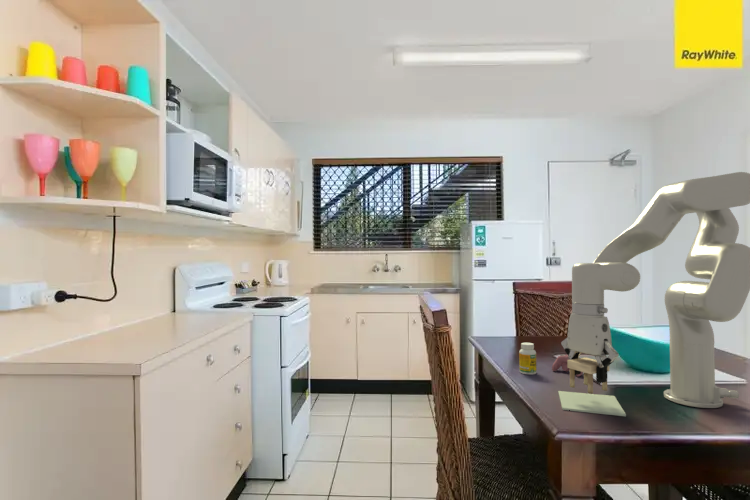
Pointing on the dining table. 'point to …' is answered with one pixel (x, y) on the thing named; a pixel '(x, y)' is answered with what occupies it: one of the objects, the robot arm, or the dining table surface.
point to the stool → (588, 368)
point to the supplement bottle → (527, 359)
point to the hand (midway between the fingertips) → (588, 377)
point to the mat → (590, 403)
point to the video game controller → (562, 364)
